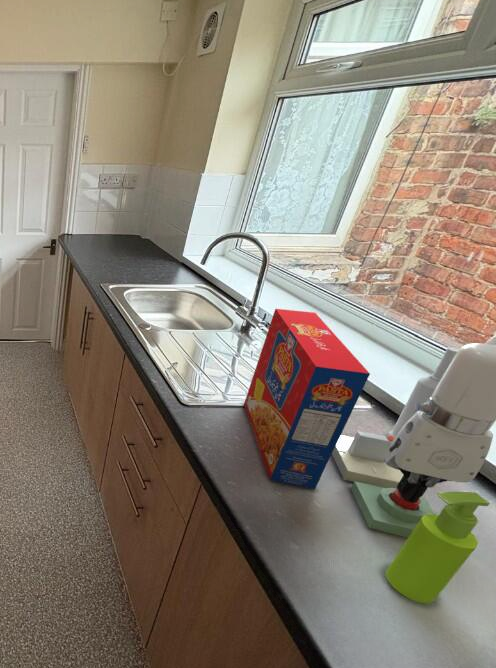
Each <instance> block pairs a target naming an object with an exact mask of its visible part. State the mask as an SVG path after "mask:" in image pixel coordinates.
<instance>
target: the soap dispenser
mask: <svg viewBox="0 0 496 668" xmlns="http://www.w3.org/2000/svg"><path fill="white" fill-rule="evenodd" d="M436 495H437V497H438V498H439V499H441V500H442V501H443V502H444V503H446V504H445V505H444V507H443V508H442V510H441V511H440V512H439V514H436V513H435V514H426V515H424V516H423V517H422V518H421V520H420V521H419V523H418V524H417V526H416V527H415V529H414V530H413V532H412V533H411V535H410V536H409V538H407V539H406V541H405V542H404V543H403V545H402V547H401V548H400V550H399V551H398V553H397V554H396V556H394V558H393V560H392V562H391V563H390V565H389V566H388V568H387V569H386V570H385V578H386V580H387V582H389V584H390V585H391V586H392V588H394V590H396V591H397V592H398V593H399V594H401V595H402V596H404V597H405V598H407V599H409V600H411V601H414V602H417V603H421V604H431V603H433V602H434V601H435V600H436V599H437V598H438V596H439V595H440V594H441V593H442V591H443V590H444V589H445V587H447V585H448V584H449V582H450V581H451V580H452V579H453V577H454V576H455V575H456V574H457V572H458V571H459V570H460V569H461V567H462V566H463V565H464V564H465V562H466V561H467V560H468V558H469V557H470V556H471V555H472V554H473V552H474V551H475V550H476V549H477V548H478V545H479V541H478V539H477V537H476V536H475V535H474V533H473V532H472V531H473V530H474V528H475V527H476V526H477V524H478V522H479V519H478V517H477V516H476V515H475V514H474V512H475V511H476V510H477V508H479V507H488V506H489V505H490V502H489V501H488V500H486V499H485V497H483V496H481V495H480V494H479V493H478V492H472V491H444V492H439V493H436Z"/></svg>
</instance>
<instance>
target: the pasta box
mask: <svg viewBox="0 0 496 668" xmlns="http://www.w3.org/2000/svg"><path fill="white" fill-rule="evenodd" d="M370 375H371V373H370V372H369V371H368V370H367V368H365V365H363V364H362V363H361V362H360V361H359V360H358V358H357V357H356V356H355V355H354V354H353V352H351V351H350V350H349V349H348V347H347V346H346V345H345V344H344V342H342V340H341V339H339V337H338V336H337V335H336V334H335V333H334V332H333V330H332V329H330V327H329V326H328V325H327V324H326V323H325V322H324V321H323V319H322V318H321V317H320V316H319V315H318V314H317V313H316V312H312V311H303V310H294V309H293V310H292V309H282V308H275V309H274V312H273V314H272V318H271V322H270V324H269V327H268V330H267V332H266V335H265V339H264V342H263V345H262V347H261V351H260V354H259V358H258V360H257V363H256V366H255V370H254V372H253V375H252V378H251V382H250V384H249V388H248V390H247V394H246V396H245V400H244V401H243V402H244V403H243V407H244V409H245V413H246V416H247V419H248V421H249V425H250V426H251V427H250V428H251V430H252V432H253V435H254V438H255V441H256V445H257V447H258V450H259V453H260V456H261V458H262V462H263V464H264V467H265V470H266V473H267V476H268V479H269V481H273V482H278V483H282V484H287V485H291V486H297V487H301V488H305V489H311V490H316V488H317V486H318V483H319V482H320V479H321V478H322V475H323V473H324V471H325V469H326V467H327V465H328V463H329V461H330V458H331V456H332V452H333V450H334V448H335V446H336V444H337V442H338V440H339V438H340V435H342V434H343V431H344V429H345V427H346V425H347V423H348V421H349V419H350V417H351V414H352V413H353V410H354V408H355V406H356V404H357V402H358V400H359V398H360V396H361V394H362V391H363V389H364V387H365V385H366V382H367V381H368V379H369V377H370Z"/></svg>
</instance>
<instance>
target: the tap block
mask: <svg viewBox="0 0 496 668" xmlns="http://www.w3.org/2000/svg"><path fill="white" fill-rule="evenodd" d="M353 439H354V437H353V436H348V435H342V434H341V435H340V438H339V440H338V442H337V444H336V446H335V448H334V450H333V452H332V454H331V456H332V458H333V460H334V462H335V464H336V466H337V469H338V471H339V473H340V475H341V477H342V480H344V481H348V482H353V483H354V482H355V481H356V482H360V483H365V484H369V485H373V486H378V487H382V488H395V489H397V485H398V483H399V482H400V480H401V479H402V477H403V474H402V472H401V471H400V470H398V469H394V468H392V467H389V466H387V465H386V463H384V462H380V461H375V460H370V459H366V458H361V457H356V456H352V455H350V453H349V451H348V449H349V447H350V445H351V443H352V441H353Z"/></svg>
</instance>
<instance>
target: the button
mask: <svg viewBox="0 0 496 668" xmlns="http://www.w3.org/2000/svg"><path fill="white" fill-rule="evenodd" d="M391 500H392V501H393V502H394V503H395V504H397V505H398V506H400V507H402V508H405V509H408V510H412V511H413V510H416V509H417V507H418V506H419V504H420V502H421V501H420V499H419V500H418V501H417V502H416V503H415V502H412V501H410V500H409V501H407V500H404V499H403V497H402V495H401V494H400V492H399V491H398V489H395V490H394V492H393V494H392V495H391Z"/></svg>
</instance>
